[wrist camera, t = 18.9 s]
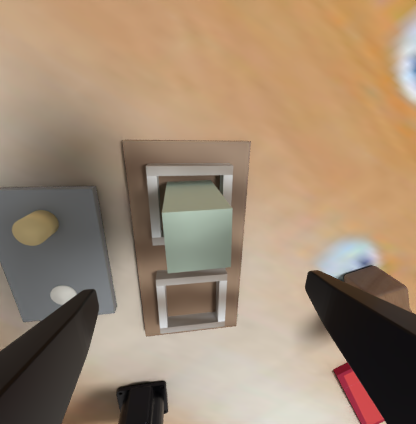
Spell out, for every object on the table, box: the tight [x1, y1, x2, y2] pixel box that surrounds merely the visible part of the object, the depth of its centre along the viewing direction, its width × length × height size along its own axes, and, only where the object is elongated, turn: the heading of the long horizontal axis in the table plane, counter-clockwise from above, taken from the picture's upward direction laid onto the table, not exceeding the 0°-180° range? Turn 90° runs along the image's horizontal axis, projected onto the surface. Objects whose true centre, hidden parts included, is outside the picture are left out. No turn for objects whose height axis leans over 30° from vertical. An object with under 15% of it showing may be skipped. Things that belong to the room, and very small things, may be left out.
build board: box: [122, 140, 251, 336], centre depth 22 cm, size 22×11×2 cm, turn 0°
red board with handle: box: [334, 362, 385, 424], centre depth 36 cm, size 30×3×15 cm
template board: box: [0, 186, 117, 322], centre depth 20 cm, size 14×9×3 cm, turn 0°
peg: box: [162, 180, 233, 273], centre depth 16 cm, size 4×4×8 cm
